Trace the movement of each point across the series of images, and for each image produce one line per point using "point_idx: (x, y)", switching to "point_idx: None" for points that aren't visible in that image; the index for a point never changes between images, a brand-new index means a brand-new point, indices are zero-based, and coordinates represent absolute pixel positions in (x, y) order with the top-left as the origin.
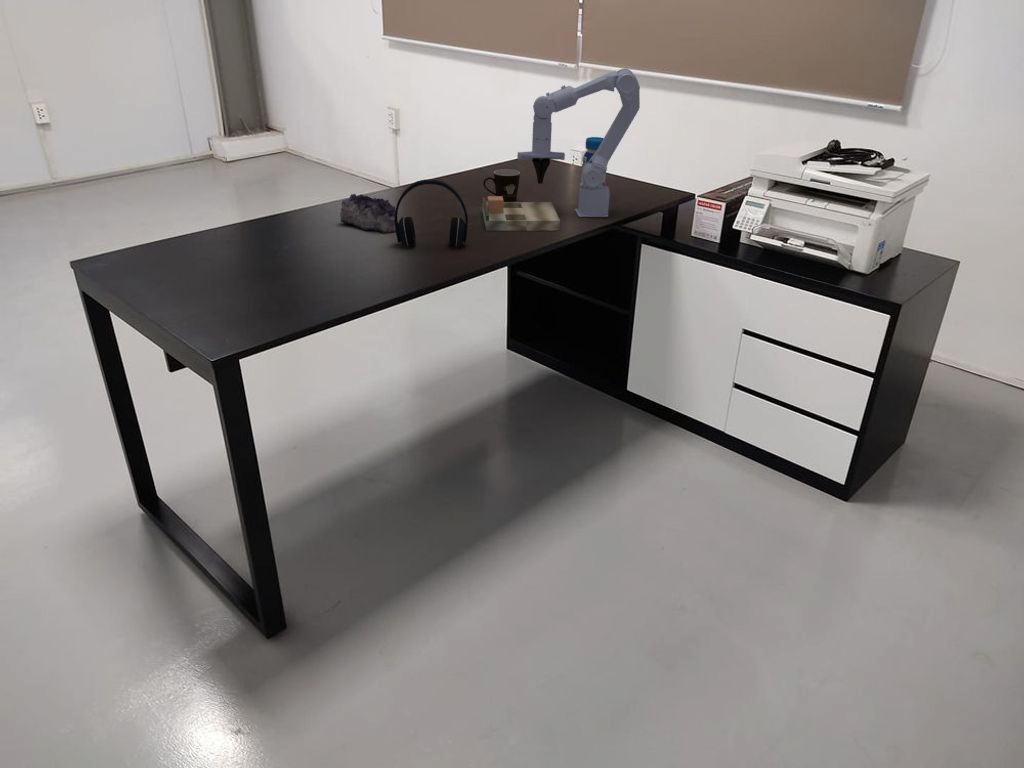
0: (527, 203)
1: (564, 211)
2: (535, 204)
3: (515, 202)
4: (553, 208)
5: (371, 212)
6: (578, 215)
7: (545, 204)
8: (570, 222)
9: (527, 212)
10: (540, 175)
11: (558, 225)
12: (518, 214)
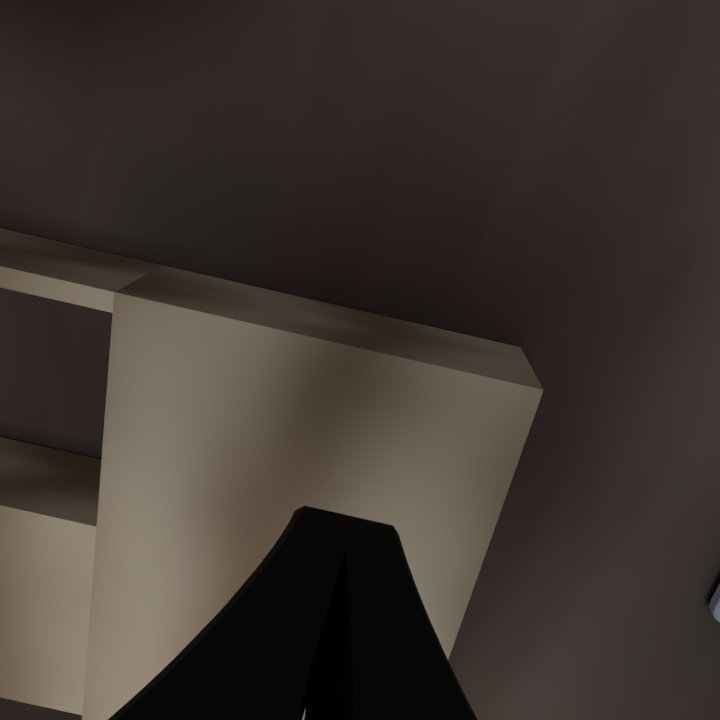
0: (201, 376)
1: (677, 385)
2: (292, 442)
3: (47, 297)
4: (450, 626)
5: None
6: (716, 599)
7: (421, 470)
8: (544, 695)
9: (124, 673)
10: (324, 706)
11: None
12: (23, 700)
